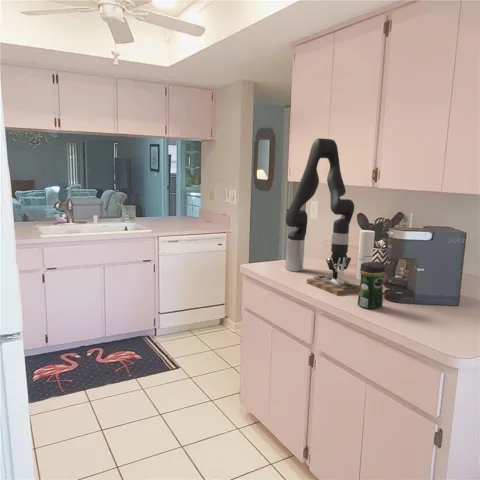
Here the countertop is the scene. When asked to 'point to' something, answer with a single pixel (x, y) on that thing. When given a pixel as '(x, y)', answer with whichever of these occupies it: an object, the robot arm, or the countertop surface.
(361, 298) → the coffee jar
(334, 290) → the wooden board
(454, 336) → the countertop surface
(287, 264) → the robot arm
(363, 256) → the cylindrical container
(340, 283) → the fader
